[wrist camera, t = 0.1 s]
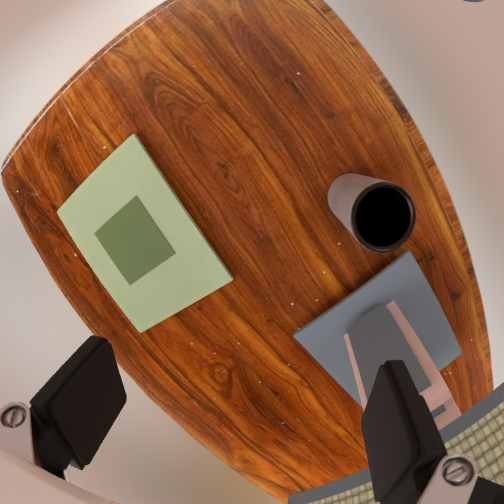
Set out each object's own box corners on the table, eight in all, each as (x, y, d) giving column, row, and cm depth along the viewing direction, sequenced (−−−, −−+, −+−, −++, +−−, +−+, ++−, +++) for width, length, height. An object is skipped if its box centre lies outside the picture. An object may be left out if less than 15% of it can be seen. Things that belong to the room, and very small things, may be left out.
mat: (59, 210, 30) (56, 212, 30) (136, 133, 27) (133, 133, 26) (142, 331, 34) (139, 333, 33) (234, 278, 31) (232, 280, 30)
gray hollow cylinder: (377, 213, 27) (421, 242, 17) (334, 225, 28) (358, 261, 18) (366, 167, 26) (409, 174, 16) (321, 179, 27) (342, 191, 17)
